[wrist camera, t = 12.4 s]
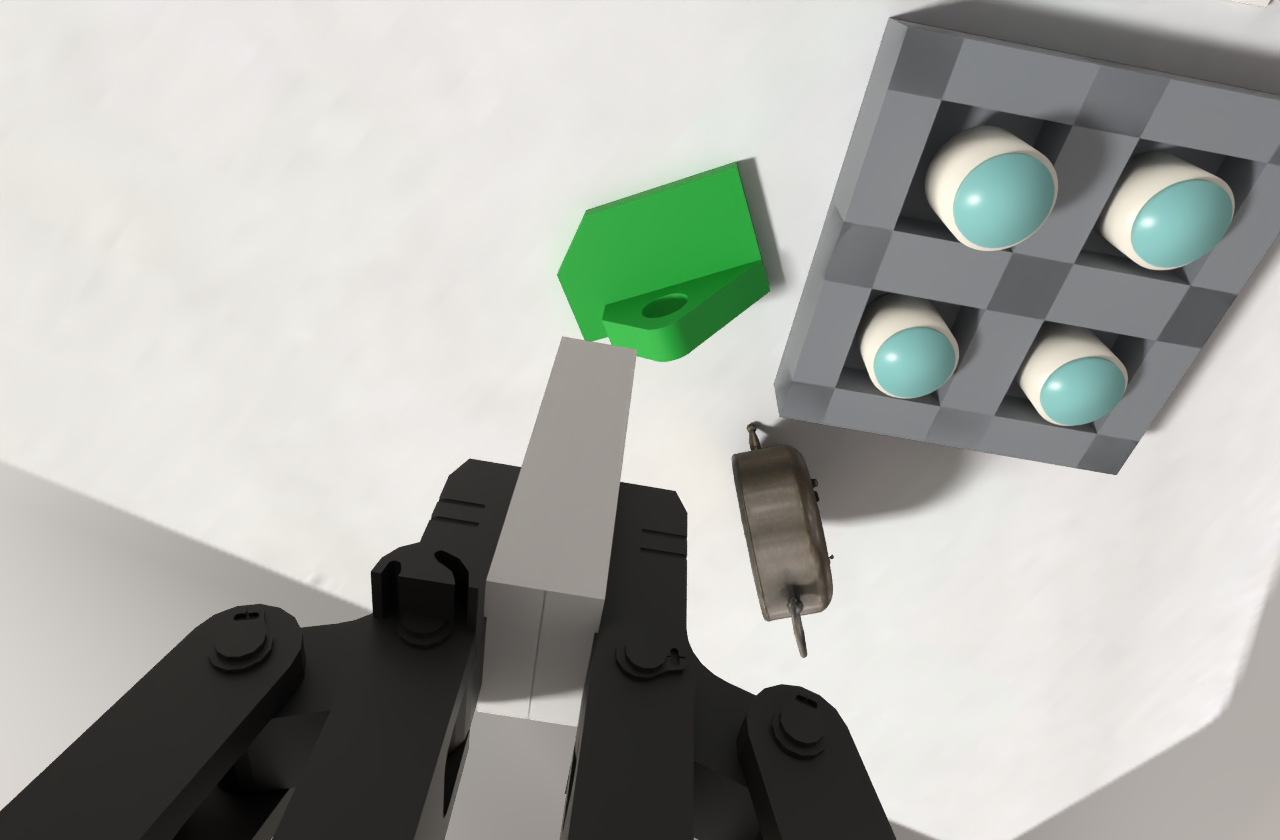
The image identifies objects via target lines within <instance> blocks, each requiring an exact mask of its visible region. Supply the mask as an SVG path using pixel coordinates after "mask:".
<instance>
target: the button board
mask: <svg viewBox="0 0 1280 840" xmlns="http://www.w3.org/2000/svg"><path fill="white" fill-rule="evenodd" d="M977 126H996V127H1000V128H1003V129H1005V130H1007V131H1009V132H1010V133H1012V134H1013V135H1015V136H1016V137H1018V138H1019V139H1021V140H1022V141H1024V142H1025V143H1027V144H1028V145H1030V146H1031V147H1033V148H1034V149H1036V150H1037V151H1039V152H1040V153H1042V154H1043V155H1044V156H1046V157H1047V158H1048V159H1049V161H1050V162H1051V163H1052V165H1053V167H1054V169H1055V171H1056V174H1057V179H1058V193H1057V198H1056V202H1055V205H1054V207H1053V209H1052V211H1051V213H1050V215H1049V217H1048V218H1047V220H1046V221H1045V222H1044V224H1043V225H1042V226H1041V227H1040V228H1039V229H1038V230H1037V231H1036V232H1035V233H1034V234H1033V235H1031V236H1030V237H1029V238H1027V239H1026V240H1024V241H1022V242H1021V243H1019V244H1017V245H1015V246H1012V247H1009V248H1006V249H1002V250H996V251H981V250H976V249H973V248H970V247H968V246H966V245H964V244H963V243H961V242H960V241H959V240H958V239H957V238H956V237H955V236H954V235H953V233H952V232H951V231H950V230H949V229H948V227H947V226H946V225H945V224H944V223H943V221H942V220H941V219H940V218H939V217H938V215H937V214H936V213H935V212H934V210H933V209H932V208H931V206H930V205H929V203H928V200H927V198H926V194H925V177H926V172H927V169H928V166H929V164H930V162H931V160H932V158H933V157H934V155H935V154H936V152H937V151H938V150H939V149H940V147H941V146H942V145H943V144H944V143H945V142H947V141H948V140H949V139H950V138H952V137H953V136H955V135H956V134H958V133H960V132H962V131H964V130H967V129H969V128H973V127H977ZM1146 152H1165V153H1169V154H1172V155H1174V156H1176V157H1178V158H1180V159H1182V160H1184V161H1186V162H1188V163H1190V164H1192V165H1194V166H1196V167H1198V168H1200V169H1203V170H1205V171H1207V172H1209V173H1211V174H1213V175H1215V176H1217V177H1219V178H1220V179H1222V180H1223V181H1225V182H1226V183H1227V184H1228V186H1229V187H1230V189H1231V191H1232V193H1233V196H1234V202H1235V208H1234V214H1233V218H1232V221H1231V223H1230V226H1229V227H1228V229H1227V231H1226V233H1225V234H1224V236H1223V237H1222V239H1221V240H1220V241H1219V242H1218V243H1217V245H1216V246H1215V247H1213V248H1212V249H1211V250H1210V251H1209V252H1208V253H1206V254H1205V255H1203V256H1202V257H1200V258H1199V259H1197V260H1195V261H1193V262H1191V263H1189V264H1187V265H1184V266H1181V267H1178V268H1174V269H1169V270H1152V269H1148V268H1145V267H1142V266H1140V265H1139V264H1137V263H1135V262H1134V261H1133V260H1132V259H1130V258H1129V257H1128V256H1126V255H1125V254H1124V253H1123V252H1121V251H1120V250H1119V249H1117V248H1116V247H1115V246H1113V245H1112V244H1111V243H1110V242H1108V241H1107V240H1106V239H1104V238H1103V237H1102V236H1101V235H1100V234H1098V233H1097V231H1096V230H1095V229H1094V227H1093V226H1094V224H1095V223H1096V221H1097V219H1098V217H1099V215H1100V213H1101V211H1102V209H1103V207H1104V205H1105V203H1106V202H1107V200H1108V198H1109V196H1110V194H1111V192H1112V190H1113V188H1114V186H1115V184H1116V183H1117V181H1118V179H1119V177H1120V175H1121V173H1122V171H1123V169H1124V167H1125V165H1126V163H1127V162H1128V160H1129V158H1130V157H1133V156H1135V155H1138V154H1142V153H1146ZM1279 233H1280V95H1276V94H1271V93H1266V92H1261V91H1256V90H1251V89H1246V88H1241V87H1236V86H1231V85H1226V84H1221V83H1216V82H1211V81H1206V80H1201V79H1195V78H1190V77H1185V76H1180V75H1175V74H1170V73H1165V72H1160V71H1155V70H1150V69H1145V68H1140V67H1135V66H1130V65H1125V64H1120V63H1115V62H1110V61H1105V60H1100V59H1095V58H1090V57H1085V56H1080V55H1074V54H1069V53H1064V52H1059V51H1054V50H1049V49H1044V48H1039V47H1034V46H1029V45H1024V44H1019V43H1014V42H1009V41H1004V40H999V39H994V38H989V37H984V36H979V35H974V34H969V33H964V32H959V31H954V30H948V29H943V28H938V27H933V26H928V25H923V24H918V23H913V22H908V21H903V20H898V19H893V18H889V19H888V22H887V26H886V29H885V32H884V35H883V38H882V41H881V45H880V48H879V51H878V54H877V57H876V61H875V64H874V67H873V70H872V73H871V76H870V80H869V83H868V86H867V89H866V92H865V96H864V99H863V102H862V105H861V108H860V111H859V115H858V118H857V121H856V124H855V127H854V131H853V134H852V137H851V140H850V143H849V146H848V150H847V153H846V156H845V159H844V162H843V166H842V169H841V172H840V175H839V178H838V181H837V185H836V188H835V191H834V194H833V197H832V201H831V204H830V207H829V210H828V213H827V216H826V220H825V223H824V226H823V229H822V232H821V236H820V239H819V242H818V245H817V248H816V251H815V255H814V258H813V261H812V264H811V267H810V271H809V274H808V277H807V280H806V283H805V286H804V290H803V293H802V296H801V299H800V302H799V306H798V309H797V312H796V315H795V318H794V321H793V325H792V328H791V331H790V334H789V337H788V341H787V344H786V347H785V350H784V353H783V356H782V360H781V363H780V366H779V369H778V372H777V376H776V379H775V382H774V387H775V393H776V399H777V405H778V410H779V416H780V417H783V418H789V419H795V420H801V421H806V422H812V423H818V424H824V425H830V426H835V427H841V428H847V429H853V430H858V431H864V432H870V433H876V434H882V435H887V436H893V437H899V438H905V439H910V440H916V441H922V442H928V443H934V444H939V445H945V446H951V447H957V448H962V449H968V450H974V451H980V452H986V453H991V454H997V455H1003V456H1009V457H1014V458H1020V459H1026V460H1032V461H1038V462H1043V463H1049V464H1055V465H1061V466H1066V467H1072V468H1078V469H1084V470H1089V471H1095V472H1101V473H1107V474H1113V475H1117V474H1118V472H1119V471H1120V469H1121V468H1122V466H1123V465H1124V463H1125V462H1126V460H1127V459H1128V457H1129V456H1130V454H1131V453H1132V451H1133V450H1134V448H1135V447H1136V445H1137V444H1138V442H1139V441H1140V439H1141V438H1142V436H1143V435H1144V433H1145V432H1146V430H1147V429H1148V427H1149V426H1150V424H1151V423H1152V421H1153V420H1154V419H1155V417H1156V416H1157V414H1158V413H1159V411H1160V410H1161V408H1162V407H1163V405H1164V404H1165V402H1166V401H1167V399H1168V398H1169V396H1170V395H1171V393H1172V392H1173V390H1174V389H1175V387H1176V386H1177V384H1178V383H1179V381H1180V380H1181V378H1182V377H1183V375H1184V374H1185V372H1186V371H1187V369H1188V368H1189V367H1190V365H1191V364H1192V362H1193V361H1194V359H1195V358H1196V356H1197V355H1198V353H1199V352H1200V350H1201V349H1202V347H1203V346H1204V344H1205V343H1206V341H1207V340H1208V338H1209V337H1210V335H1211V334H1212V332H1213V331H1214V329H1215V328H1216V326H1217V325H1218V323H1219V322H1220V320H1221V319H1222V317H1223V316H1224V315H1225V313H1226V312H1227V310H1228V309H1229V307H1230V306H1231V304H1232V303H1233V301H1234V300H1235V298H1236V297H1237V295H1238V294H1239V292H1240V291H1241V289H1242V288H1243V286H1244V285H1245V283H1246V282H1247V280H1248V279H1249V277H1250V276H1251V274H1252V273H1253V271H1254V270H1255V268H1256V267H1257V265H1258V264H1259V262H1260V261H1261V260H1262V258H1263V257H1264V255H1265V254H1266V252H1267V251H1268V249H1269V248H1270V246H1271V245H1272V243H1273V242H1274V240H1275V239H1276V237H1277V236H1278V234H1279ZM890 293H898V294H903V295H909V296H914V297H920V298H925V299H928V300H930V301H931V302H932V303H933V305H934V306H935V308H936V309H937V311H938V312H939V314H940V316H941V317H942V319H943V320H944V322H945V324H946V325H947V327H948V328H949V330H950V332H951V333H952V335H953V336H954V338H955V340H956V342H957V344H958V348H959V359H958V364H957V366H956V369H955V371H954V372H953V374H952V375H951V377H950V378H949V379H948V380H947V381H946V383H944V384H943V385H942V386H941V387H939V388H938V389H937V390H935V391H933V392H931V393H929V394H927V395H924V396H921V397H916V398H896V397H892V396H890V395H887V394H885V393H883V392H882V391H880V390H879V389H878V388H877V387H876V386H875V385H874V384H873V382H872V380H871V378H870V376H869V373H868V371H867V368H866V366H865V363H864V360H863V358H862V355H861V353H860V350H859V348H858V345H857V342H856V337H855V333H856V330H857V327H858V325H859V322H860V319H861V317H862V314H863V312H864V310H865V309H866V308H867V307H868V306H869V305H870V304H871V303H873V302H874V301H875V300H877V299H879V298H880V297H882V296H885V295H887V294H890ZM1048 322H1057V323H1063V324H1068V325H1074V326H1079V327H1085V328H1089V329H1090V330H1091V331H1092V332H1093V333H1094V334H1095V335H1096V336H1097V337H1098V338H1099V340H1100V341H1101V342H1102V343H1103V344H1104V345H1105V346H1106V347H1107V348H1108V349H1109V350H1110V351H1111V352H1112V353H1113V354H1114V355H1115V356H1116V357H1117V358H1118V359H1119V360H1120V361H1121V362H1122V364H1123V365H1124V366H1125V368H1126V371H1127V376H1128V383H1127V387H1126V390H1125V393H1124V394H1123V396H1122V398H1121V400H1120V401H1119V403H1118V404H1117V405H1116V406H1115V407H1114V408H1113V409H1112V410H1111V411H1110V412H1109V413H1107V414H1106V415H1105V416H1103V417H1101V418H1099V419H1097V420H1095V421H1093V422H1090V423H1087V424H1082V425H1074V426H1063V425H1057V424H1054V423H1051V422H1049V421H1047V420H1045V419H1044V418H1043V417H1042V416H1041V415H1040V414H1039V413H1038V411H1037V410H1036V408H1035V407H1034V406H1033V404H1032V403H1031V401H1030V400H1029V398H1028V397H1027V396H1026V394H1025V393H1024V391H1023V390H1022V388H1021V387H1020V386H1019V384H1018V383H1017V381H1016V380H1015V378H1014V377H1015V375H1016V373H1017V371H1018V369H1019V367H1020V365H1021V364H1022V362H1023V360H1024V358H1025V356H1026V354H1027V352H1028V350H1029V348H1030V346H1031V345H1032V343H1033V341H1034V339H1035V337H1036V335H1037V333H1038V331H1039V329H1040V327H1041V325H1042V324H1045V323H1048Z"/></svg>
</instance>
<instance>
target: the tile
mask: <svg viewBox="0 0 1280 840" xmlns="http://www.w3.org/2000/svg"><path fill="white" fill-rule="evenodd" d="M1230 1H1235V2H1240V3H1245V4H1250V5H1254V6H1259V7H1265V8H1266V7H1267V5H1268V3H1269V2H1270V0H1230Z"/></svg>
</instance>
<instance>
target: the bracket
mask: <svg viewBox="0 0 1280 840" xmlns="http://www.w3.org/2000/svg"><path fill="white" fill-rule="evenodd" d="M557 276H558V278H559V281H560V283H561V285H562V288H563V290H564V292H565V295H566V297H567V299H568V302H569V304H570V307H571V309H572V311H573V314H574V316H575V318H576V321H577V323H578V325H579V328H580V330H581V332H582V335H583V337H584V340H585V341H595V340H598V339H602V338H606V337H609V339H610V342H611V344H612V345H614V346H619V347H625V348H631V349H636V350H637V354H636V356H639V357H643V358H647V359H651V360H654V361H658V362H667V361H672V360H676V359H679V358H681V357H683V356H685V355H687V354H688V353H690V352H691V351H692V350H694V349H695V348H696V347H697V346H699V345H700V344H701V343H703V342H704V341H705V340H707V339H708V338H709V337H711V336H712V335H713V334H714V333H716V332H717V331H718V330H720V329H721V328H722V327H724V326H725V325H726V324H728V323H729V322H730V321H731V320H733V319H734V318H735V317H737V316H738V315H739V314H741V313H742V312H743V311H745V310H746V309H747V308H749V307H750V306H751V305H752V304H754V303H755V302H756V301H758V300H759V299H760V298H762V297H763V296H764V295H766V294H767V293H768V292H769V291H770V289H769V285H768V281H767V277H766V273H765V269H764V266H763V262H762V258H761V254H760V250H759V247H758V243H757V239H756V235H755V232H754V228H753V224H752V220H751V217H750V213H749V209H748V205H747V201H746V198H745V194H744V190H743V186H742V183H741V179H740V175H739V171H738V168H737V164H736V162H733V163H730V164H727V165H724V166H721V167H718V168H715V169H712V170H709V171H705V172H702V173H699V174H696V175H693V176H690V177H687V178H684V179H681V180H678V181H675V182H672V183H669V184H666V185H662V186H659V187H656V188H653V189H650V190H647V191H644V192H641V193H638V194H635V195H632V196H629V197H626V198H623V199H620V200H616V201H613V202H610V203H607V204H604V205H601V206H598V207H595V208H592V209H589V210H586V212H585V214H584V216H583V218H582V221H581V223H580V225H579V227H578V229H577V232H576V234H575V236H574V238H573V240H572V243H571V245H570V247H569V249H568V251H567V253H566V256H565V258H564V260H563V262H562V264H561V267H560V269H559V271H558V274H557Z"/></svg>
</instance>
